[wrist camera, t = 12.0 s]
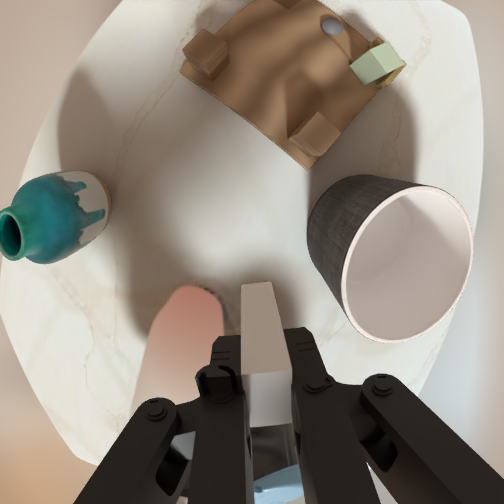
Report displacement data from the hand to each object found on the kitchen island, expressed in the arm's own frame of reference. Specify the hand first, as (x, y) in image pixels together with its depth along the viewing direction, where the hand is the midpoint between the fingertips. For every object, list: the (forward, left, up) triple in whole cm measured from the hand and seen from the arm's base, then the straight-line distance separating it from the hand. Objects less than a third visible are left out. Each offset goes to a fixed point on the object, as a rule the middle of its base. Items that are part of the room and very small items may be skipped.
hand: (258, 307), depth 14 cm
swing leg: (+5, -28, -24) cm, 37 cm away
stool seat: (+9, -21, -26) cm, 35 cm away
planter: (-15, -9, -26) cm, 32 cm away
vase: (+20, +13, -26) cm, 36 cm away
